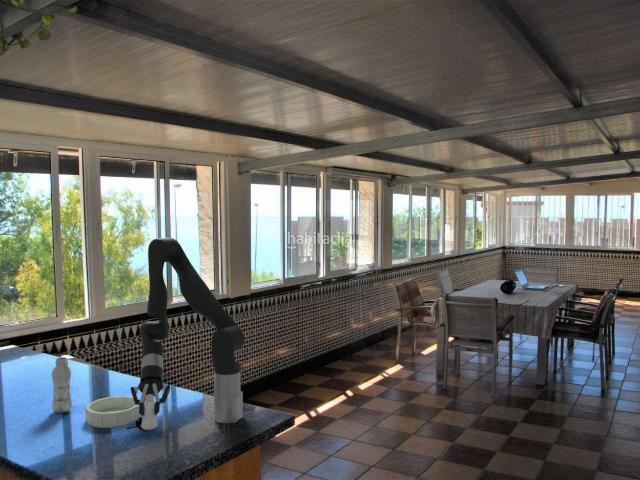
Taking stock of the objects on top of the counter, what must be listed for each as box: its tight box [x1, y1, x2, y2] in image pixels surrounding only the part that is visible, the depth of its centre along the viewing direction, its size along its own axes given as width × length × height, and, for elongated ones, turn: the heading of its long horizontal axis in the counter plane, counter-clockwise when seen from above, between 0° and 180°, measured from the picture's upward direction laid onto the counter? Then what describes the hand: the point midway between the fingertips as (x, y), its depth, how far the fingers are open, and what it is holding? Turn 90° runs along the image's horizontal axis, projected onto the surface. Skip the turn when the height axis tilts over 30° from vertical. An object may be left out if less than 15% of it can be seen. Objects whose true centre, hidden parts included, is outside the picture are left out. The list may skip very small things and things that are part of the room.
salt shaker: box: [141, 394, 159, 431], centre depth 183 cm, size 5×5×11 cm
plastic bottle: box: [51, 357, 73, 414], centre depth 197 cm, size 6×7×20 cm
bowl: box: [85, 395, 141, 429], centre depth 191 cm, size 18×18×5 cm
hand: (149, 414), depth 181 cm, fingers closed on salt shaker, 4 cm apart
